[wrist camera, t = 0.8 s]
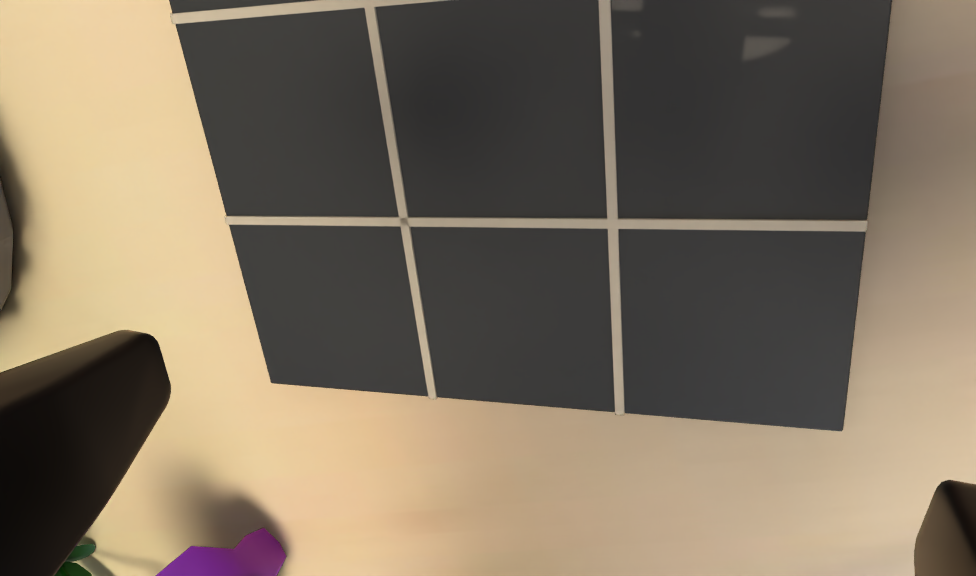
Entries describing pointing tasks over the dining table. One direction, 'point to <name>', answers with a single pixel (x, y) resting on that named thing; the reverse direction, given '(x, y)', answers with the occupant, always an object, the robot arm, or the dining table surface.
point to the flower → (207, 559)
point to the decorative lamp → (5, 249)
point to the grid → (550, 195)
